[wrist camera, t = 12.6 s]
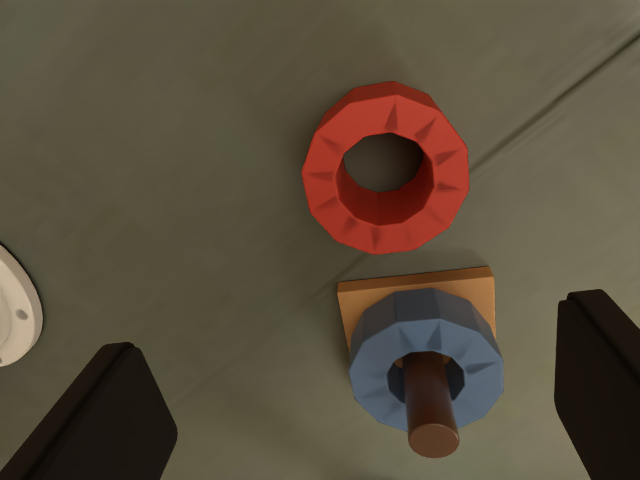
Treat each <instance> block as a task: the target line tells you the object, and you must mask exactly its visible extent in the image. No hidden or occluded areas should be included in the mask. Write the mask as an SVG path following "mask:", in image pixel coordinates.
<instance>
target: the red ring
mask: <svg viewBox="0 0 640 480" xmlns="http://www.w3.org/2000/svg"><path fill="white" fill-rule="evenodd" d="M388 132H392V133H394V134H397V135H400V136H402V137H405V138H408V139H410V140H413V141H416V142H417V143H418V145H419V146H420V147H421V149H422V150H423V157H424V159H423V161H422V163H421V165H420V167H419V170H418V172H417V174H416V176H415V178H413V179H412V180H411V181H409V182H408V183H406V184H405V185H404V186H402V187H401V188H400V189H398V190H393V191H386V192H379V193H377V192H374V191H371V190H368V189H366V188H363V187H360V186H358V185H357V184H356V182H355V181H354V180H353V179H352V178H351V177H350V175H349V174H348V173H347V172H346V171H345V166H344V160H343V155H344V153H345V152H346V151H347V150H349V149H350V148H351V147H352V146H354V145H355V144H356V143H357V142H359V141H360V140H361V139H362V138H363V137H365V136H371V135H377V134H382V133H388ZM302 179H303V184H304V188H305V193H306V197H307V202H308V206H309V211H310V213H311V214H312V215H313V216H314V217H315V219H316V220H317V221H318V222H319V223H320V224H321V225H322V226H323V227H324V228H325V229H326V231H327V232H328V233H329V234H330V235H331V236H332V237H333V238H334V239H335V240H336V241H337V242H340V243H342V244H345V245H348V246H351V247H353V248H356V249H359V250H362V251H365V252H367V253H370V254H374V255H376V254H385V253H393V252H402V251H410V250H415V249H417V248H418V247H420V246H421V245H423V244H424V243H426V242H427V241H429V240H430V239H432V238H433V237H435V236H437V235H438V234H440V233H441V232H443V231H444V230H446V229H447V228H449V226H450V224H451V223H452V221H453V219H454V217H455V215H456V213H457V212H458V210H459V208H460V206H461V204H462V202H463V200H464V199H465V197H466V195H467V193H468V191H469V171H468V151H467V147H466V144H465V143H464V142H463V140H462V139H461V138H460V136H459V135H458V133H457V132H456V131H455V129H454V128H453V127H452V125H451V124H450V123H449V121H448V120H447V118H446V117H445V116H444V114H443V113H442V112H441V110H440V109H439V108H438V106H437V105H436V104H435V102H434V101H433V100H432V98H431V97H430V96H429V95H428V94H426V93H423V92H421V91H418V90H415V89H413V88H410V87H408V86H405V85H402V84H400V83H397V82H395V81H389V82H384V83H378V84H373V85H368V86H363V87H357V88H354V89H352V90H351V91H350V92H349V93H348V94H347V95H345V96H344V97H343V98H342V99H341V100H340V101H339V102H337V103H336V104H335V105H334V106H333V107H332V108H331V109H329V110H328V111H327V112H326V113H325V115H324V116H323V118H322V120H321V122H320V124H319V126H318V128H317V129H316V131H315V133H314V136H313V139H312V142H311V145H310V148H309V151H308V154H307V157H306V160H305V163H304V166H303V169H302Z"/></svg>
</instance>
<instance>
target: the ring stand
mask: <svg viewBox="0 0 640 480" xmlns="http://www.w3.org/2000/svg"><path fill="white" fill-rule="evenodd" d="M424 288H435V289H438V290H441V291H444V292H447V293H449V294H452V295H455V296H458V297H461V298H463V299H466V300H468V301H470V302H471V303H472V305H473V306H474V307H475V308H476V309H477V311H478V312H479V313H480V314H481V315H482V316H483V318H484V319H485V320H486V321H487V322H488V324H489V325H490V327H491V329H492V332H493V335H494V337H495V340H496V331H495V293H494V276H493V274H492V271H491V269H490V267H489V266H487V267H478V268H469V269H459V270H450V271H440V272H431V273H422V274H412V275H403V276H393V277H384V278H375V279H365V280H356V281H346V282H339V283H338V289H337V295H338V300H339V305H340V310H341V315H342V319H343V324H344V329H345V334H346V338H347V343H348V348H349V353H350V343H351V336H352V334H353V332H354V330H355V328H356V326H357V324H358V322H359V320H360V318H361V316H362V314H363V312H364V311H365V310H366V309H367V308H369V307H371V306H372V305H374V304H375V303H377V302H379V301H380V300H382V299H383V298H385V297H387V296H388V295H390V294H391V293H393V292H395V291H404V290H414V289H424ZM450 359H451V357H449V356H447V355H444V354H441V353H438V352H435V351H421V352H410V353H408V354H406V355H405V356H403V357H401V358H399V359H397V360H395V361H394V363H395V364H396V365H397V366H398V367H401V368H403V381H404V393H405V405H406V418H407V430H408V442H409V445H410V447H411V448H412V449H413V451H415V452H416V453H417V454H419V455H421V456H424V457H428V458H441V457H445V456H448V455H450V454H451V453H453V452H454V451H455V450H456V449H457V447H458V445H459V435H458V430H457V425H456V420H455V415H454V411H453V406H452V401H451V396H450V391H449V386H448V381H447V376H446V371H445V366H444V365H445V364H447V363H448V362H449V360H450Z"/></svg>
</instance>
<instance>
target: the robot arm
mask: <svg viewBox="0 0 640 480" xmlns="http://www.w3.org/2000/svg"><path fill="white" fill-rule="evenodd" d="M42 322H43V316H42V308H41V303H40V300H39V297H38V294H37V291H36V289H35V288H34V286H33V284H32V282H31V280H30V278H29V276H28V275H27V274H26V272H25V271H24V270H23V268H22V267H21V266H20V264H19V263H18V262H17V261H16V259H15V258H14V257H13V256H12V255H11V254H10V253H9V252H8V251H7V250H6V249H5V248H4V247H2V246H1V245H0V367H1V366H6V365H9V364H11V363H13V362H15V361H17V360H19V359H20V358H21V357H22V356H23V355H24V354H25V353H27V352H28V351H29V350H30V349H31V348H32V346H33V345H34V344H35V343H36V342H37V340H38V338H39V335H40V333H41V330H42ZM554 401H555V406H556V410H557V413H558V415H559V418H560V420H561V421H562V423H563V425H564V427H565V429H566V431H567V433H568V435H569V437H570V439H571V441H572V443H573V445H574V447H575V449H576V451H577V453H578V455H579V457H580V459H581V461H582V463H583V465H584V466H585V468H586V470H587V472H588V474H589V476H590V478H591V480H640V329H639V328H638V327H637V326H636V325H635V324H634V323H633V322H632V320H631V319H630V318H629V317H628V316H627V315H626V314H625V313H624V312H623V311H622V310H621V309H620V308H619V306H618V305H617V304H616V303H615V302H614V301H613V300H612V299H611V298H610V297H609V296H608V295H607V293H606V292H604V291H603V290H601V289H595V290H587V291H578V292H570V293H569V294H568V296H567V300H562V301H560V302H559V304H558V318H557V342H556V365H555V389H554ZM177 435H178V432H177V427H176V424H175V422H174V420H173V418H172V416H171V413H170V411H169V409H168V407H167V405H166V403H165V401H164V398H163V396H162V394H161V392H160V390H159V388H158V386H157V383H156V381H155V379H154V377H153V375H152V373H151V371H150V368H149V366H148V364H147V362H146V360H145V358H144V356H143V353H142V351H141V350H140V349H139V348H137V347H135V346H134V345H133V344H132V343H131V342H122V343H113V344H106V345H103V346H102V347H101V348H100V349H99V351H98V352H97V353H96V354H95V355H94V357H93V358H92V359H91V360H90V362H89V363H88V364H87V365H86V367H85V368H84V369H83V370H82V372H81V373H80V374H79V375H78V376H77V378H76V379H75V380H74V381H73V383H72V384H71V385H70V386H69V388H68V389H67V390H66V391H65V393H64V394H63V395H62V396H61V397H60V399H59V400H58V401H57V402H56V404H55V405H54V406H53V407H52V409H51V410H50V411H49V412H48V414H47V415H46V416H45V417H44V418H43V420H42V421H41V422H40V423H39V425H38V426H37V427H36V428H35V430H34V431H33V432H32V433H31V434H30V436H29V437H28V438H27V439H26V441H25V442H24V443H23V444H22V446H21V447H20V448H19V449H18V451H17V452H16V453H15V454H14V455H13V457H12V458H11V459H10V460H9V462H8V463H7V464H6V465H5V467H4V468H3V469H2V470H1V472H0V480H160V478H161V476H162V473H163V471H164V469H165V467H166V464H167V462H168V460H169V458H170V455H171V453H172V451H173V449H174V446H175V444H176V441H177Z"/></svg>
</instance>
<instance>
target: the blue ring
mask: <svg viewBox="0 0 640 480" xmlns="http://www.w3.org/2000/svg"><path fill="white" fill-rule="evenodd" d="M421 351H435V352H438V353H441V354H444V355H447V356H449V357H451V359H450V360H449V362H448V363H447V364H445V365H444V366H445V371H446V376H447V381H448V386H449V391H450V396H451V401H452V406H453V411H454V415H455V420H456V425H457V429H458V428H461V427H463V426H465V425H467V424H469V423H472V422H474V421H476V420H478V419H481V418H483V417H484V416H485V415H486V414H487V412H488V411H489V410H490V408H491V407H492V406H493V404H494V403H495V402H496V400H497V399H498V398H499V397H500V395H501V394H502V393H503V390H504V379H503V358H502V356H501V353H500V351H499V348H498V345H497V343H496V340H495V337H494V335H493V332H492V329H491V327H490V325H489V324H488V322H487V321H486V320H485V319H484V318H483V316H482V315H481V314H480V313H479V312H478V311H477V309H476V308H475V307H474V306H473V305H472V303H471V302H470V301H468V300H466V299H463V298H461V297H458V296H455V295H452V294H449V293H447V292H444V291H441V290H438V289H435V288H424V289H414V290H404V291H395V292H393V293H391V294H390V295H388V296H387V297H385V298H383V299H382V300H380V301H379V302H377V303H375V304H374V305H372V306H371V307H369V308H367V309H366V310H365V311H364V312H363V314H362V316H361V318H360V320H359V322H358V324H357V326H356V328H355V330H354V332H353V334H352V336H351V343H350V356H349V370H348V371H349V376H350V380H351V385H352V390H353V394H354V399H355V400H356V401H357V402H358V403H359V404H360V405H361V406H362V407H363V408H364V409H365V410H366V411H368V412H369V413H370V414H371V415H372V416H373V417H374V418H375V419H376V420H377V421H378V422H380V423H383V424H386V425H389V426H392V427H395V428H397V429H400V430H403V431H406V432H408V430H407V418H406V405H405V393H404V381H403V368H401V367H398V366H397V365H396V364H395V363H394V361H395V360H397V359H399V358H401V357H403V356H405V355H406V354H408V353H410V352H421Z"/></svg>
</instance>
